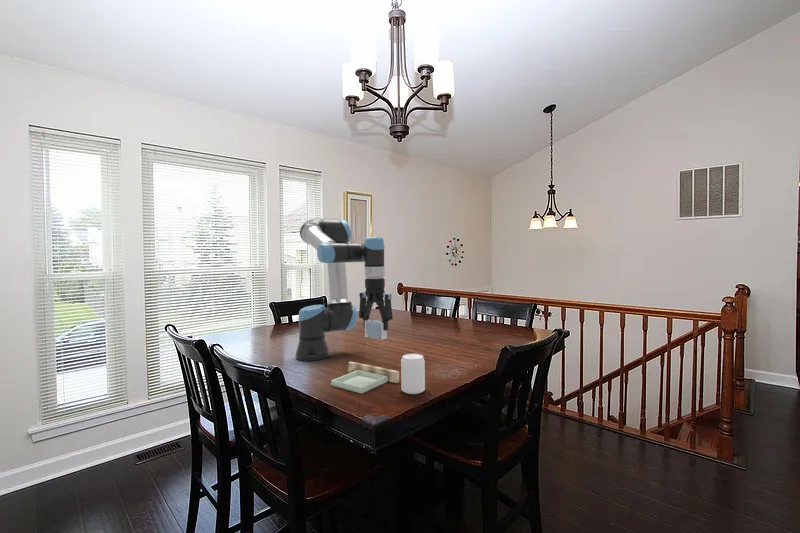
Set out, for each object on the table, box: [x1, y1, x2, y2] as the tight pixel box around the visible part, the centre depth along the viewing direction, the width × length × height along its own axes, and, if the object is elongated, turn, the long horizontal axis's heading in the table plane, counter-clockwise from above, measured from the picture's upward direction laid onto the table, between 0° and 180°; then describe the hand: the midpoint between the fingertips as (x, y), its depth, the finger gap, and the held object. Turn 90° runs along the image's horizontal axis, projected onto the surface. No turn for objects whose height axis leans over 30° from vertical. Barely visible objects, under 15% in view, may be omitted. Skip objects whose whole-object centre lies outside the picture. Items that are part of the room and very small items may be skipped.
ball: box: [367, 319, 382, 340], centre depth 148 cm, size 7×7×7 cm
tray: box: [330, 370, 389, 395], centre depth 141 cm, size 14×14×2 cm
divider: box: [347, 360, 400, 384], centre depth 148 cm, size 24×2×4 cm, turn 55°
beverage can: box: [400, 353, 426, 395], centre depth 133 cm, size 8×8×12 cm
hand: (375, 337), depth 148 cm, fingers closed on ball, 7 cm apart
